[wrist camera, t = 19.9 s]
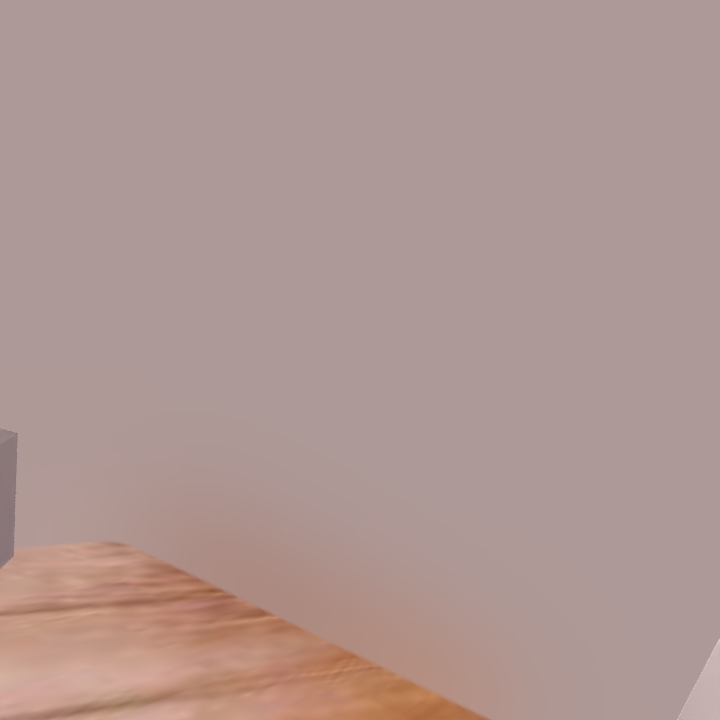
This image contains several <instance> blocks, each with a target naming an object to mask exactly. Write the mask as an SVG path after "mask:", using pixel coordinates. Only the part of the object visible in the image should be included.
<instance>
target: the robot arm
mask: <svg viewBox="0 0 720 720" xmlns="http://www.w3.org/2000/svg"><path fill="white" fill-rule="evenodd" d="M16 462H17V433H15V432H11V431H7V430H3V429H0V568H1V567H2V566H3V565H5V564H6V563H7V562H8V561H9V560H10V559H11V558H12V557H13V556H14V525H15V494H16V464H17V463H16ZM677 720H720V638H719V640H718V642H717V644H716V646H715V648H714V650H713V652H712V654H711V656H710V657H709V659H708V661H707V663H706V665H705V667H704V669H703V671H702V673H701V675H700V677H699V679H698V680H697V682H696V684H695V686H694V688H693V690H692V692H691V694H690V696H689V698H688V699H687V702H686V703H685V705H684V707H683V709H682V711H681V713H680V715H679V717H678V719H677Z"/></svg>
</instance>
